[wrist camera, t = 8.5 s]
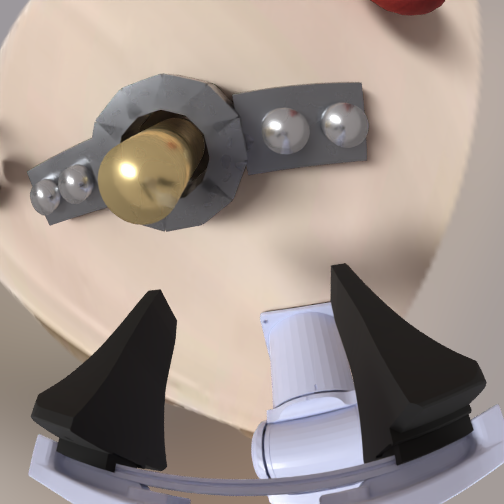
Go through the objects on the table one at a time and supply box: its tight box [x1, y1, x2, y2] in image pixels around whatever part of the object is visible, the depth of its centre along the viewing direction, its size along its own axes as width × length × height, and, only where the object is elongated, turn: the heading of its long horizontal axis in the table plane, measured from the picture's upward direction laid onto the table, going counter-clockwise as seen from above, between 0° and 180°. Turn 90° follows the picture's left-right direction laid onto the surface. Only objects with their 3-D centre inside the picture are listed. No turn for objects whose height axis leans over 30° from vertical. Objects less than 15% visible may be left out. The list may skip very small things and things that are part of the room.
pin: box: [98, 118, 204, 225], centre depth 14 cm, size 4×4×7 cm
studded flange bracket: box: [27, 74, 369, 232], centre depth 15 cm, size 9×24×3 cm, turn 100°
